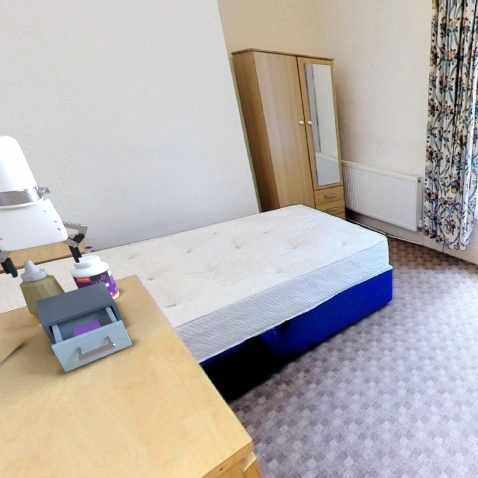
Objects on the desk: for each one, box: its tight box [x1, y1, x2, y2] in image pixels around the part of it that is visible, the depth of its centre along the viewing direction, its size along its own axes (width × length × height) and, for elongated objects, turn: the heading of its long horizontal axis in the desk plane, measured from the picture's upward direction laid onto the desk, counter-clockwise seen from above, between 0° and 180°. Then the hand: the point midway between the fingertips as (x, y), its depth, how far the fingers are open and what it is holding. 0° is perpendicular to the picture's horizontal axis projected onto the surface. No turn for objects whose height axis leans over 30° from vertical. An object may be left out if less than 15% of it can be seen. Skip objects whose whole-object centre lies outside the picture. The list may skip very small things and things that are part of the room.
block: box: [73, 320, 101, 337], centre depth 80 cm, size 5×5×5 cm
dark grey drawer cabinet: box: [36, 282, 127, 345], centre depth 87 cm, size 15×13×9 cm
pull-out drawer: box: [51, 307, 133, 373], centre depth 79 cm, size 19×12×7 cm, turn 51°
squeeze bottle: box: [19, 259, 66, 320], centre depth 90 cm, size 8×8×18 cm
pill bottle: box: [71, 254, 120, 300], centre depth 98 cm, size 8×8×14 cm
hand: (47, 267), depth 74 cm, fingers open, 9 cm apart
